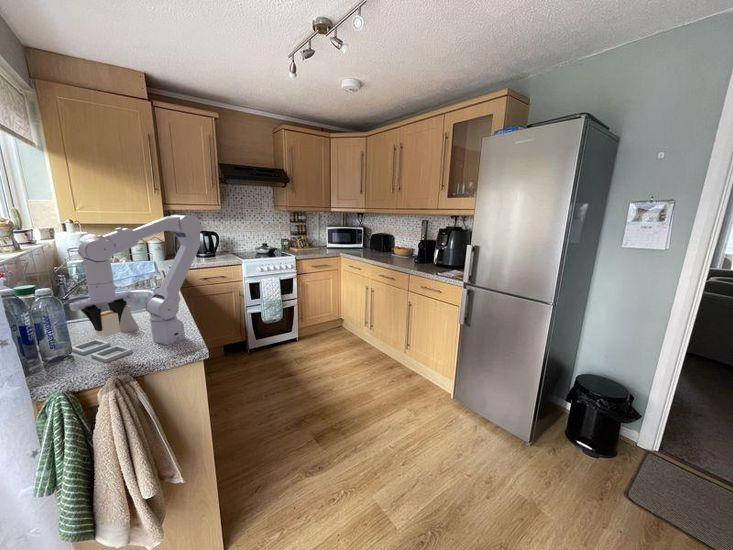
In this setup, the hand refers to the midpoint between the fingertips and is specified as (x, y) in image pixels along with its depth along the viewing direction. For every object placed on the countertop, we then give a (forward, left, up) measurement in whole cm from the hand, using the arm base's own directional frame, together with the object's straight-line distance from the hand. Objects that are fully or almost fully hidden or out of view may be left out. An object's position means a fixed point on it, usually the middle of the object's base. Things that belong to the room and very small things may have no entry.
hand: (107, 327), depth 89 cm
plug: (0, 0, -2) cm, 2 cm away
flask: (+17, -15, -10) cm, 25 cm away
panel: (+5, 0, -10) cm, 12 cm away
